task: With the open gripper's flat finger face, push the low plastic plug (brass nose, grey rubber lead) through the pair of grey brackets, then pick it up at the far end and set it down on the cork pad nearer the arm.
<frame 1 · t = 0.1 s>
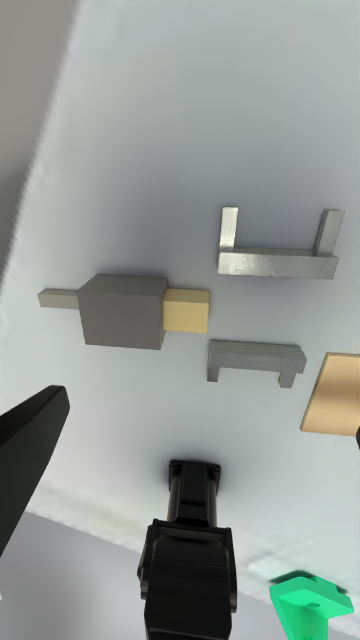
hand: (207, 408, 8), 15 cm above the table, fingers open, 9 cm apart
pair of grey brackets: (261, 308, 22), on the table
plug: (133, 300, 23), on the table
camera mount: (307, 582, 47), on the table
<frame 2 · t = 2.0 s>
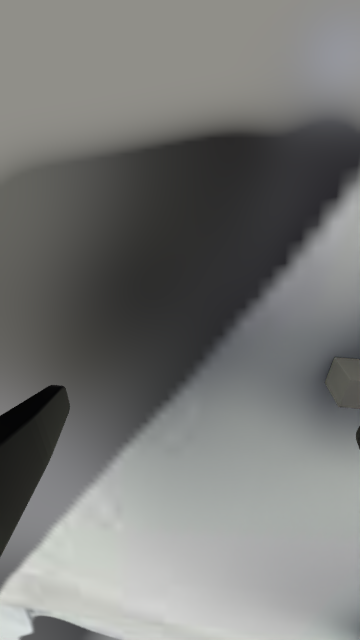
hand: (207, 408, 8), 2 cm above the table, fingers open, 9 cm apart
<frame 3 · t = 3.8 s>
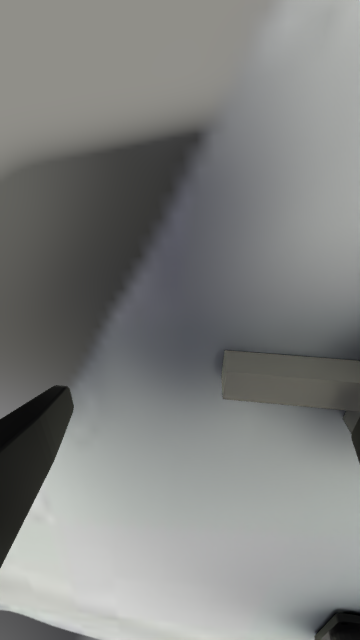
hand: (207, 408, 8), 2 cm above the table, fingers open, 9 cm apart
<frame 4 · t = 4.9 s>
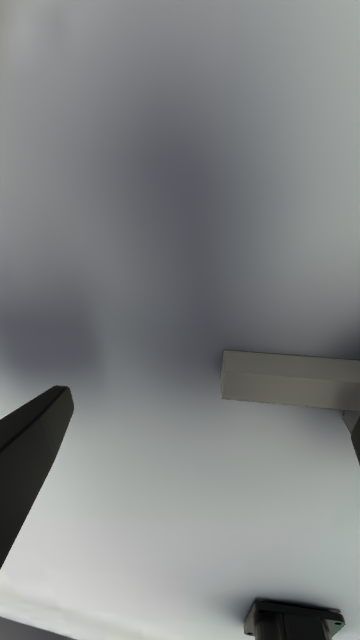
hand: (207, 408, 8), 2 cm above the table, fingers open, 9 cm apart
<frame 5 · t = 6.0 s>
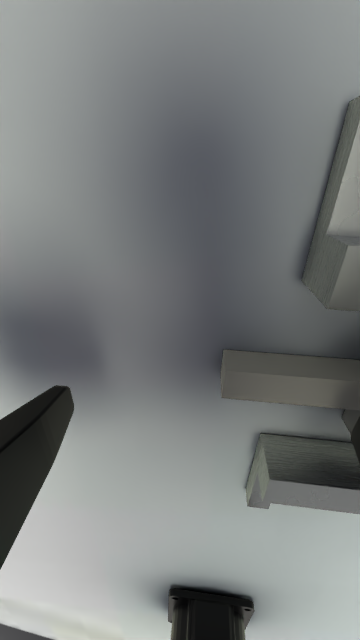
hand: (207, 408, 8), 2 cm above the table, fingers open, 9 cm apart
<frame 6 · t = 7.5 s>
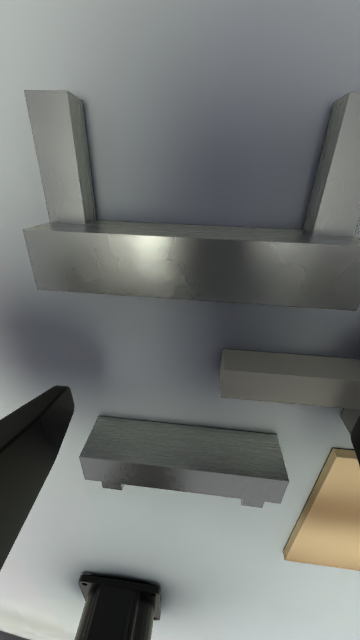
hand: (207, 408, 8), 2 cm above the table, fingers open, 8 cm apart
pair of grey brackets: (188, 362, 10), on the table
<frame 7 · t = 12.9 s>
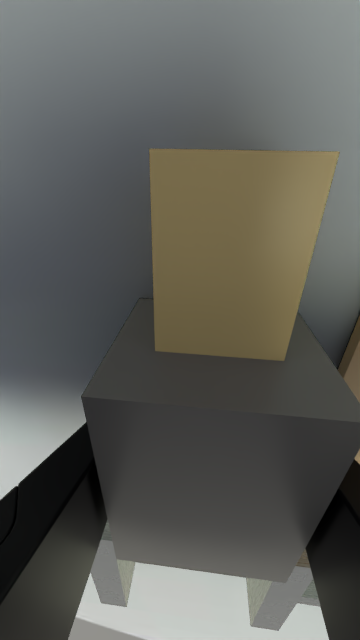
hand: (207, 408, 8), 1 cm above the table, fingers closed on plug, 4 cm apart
pair of grey brackets: (192, 539, 14), on the table
plug: (207, 381, 9), on the table, touching gripper
when the fingers open (3 cm above the table, at t = 16.7 s): plug stays where it is, resting on pad.
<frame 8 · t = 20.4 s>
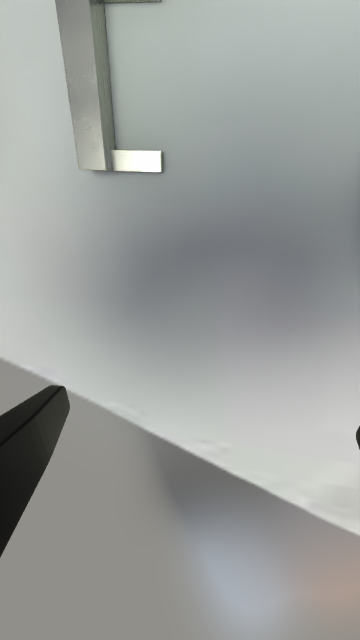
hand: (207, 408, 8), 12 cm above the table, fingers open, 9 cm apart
pair of grey brackets: (21, 85, 14), on the table
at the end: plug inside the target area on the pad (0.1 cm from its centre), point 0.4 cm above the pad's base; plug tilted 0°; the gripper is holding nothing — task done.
